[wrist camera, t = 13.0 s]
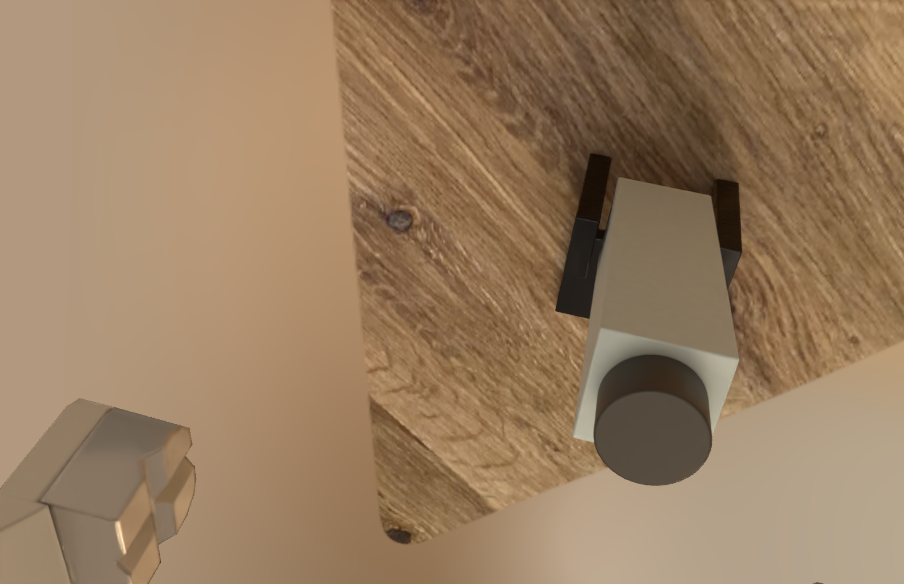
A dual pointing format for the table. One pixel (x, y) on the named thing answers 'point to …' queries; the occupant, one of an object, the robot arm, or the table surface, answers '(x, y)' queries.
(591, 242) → the stand
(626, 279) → the vial
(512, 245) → the table surface
